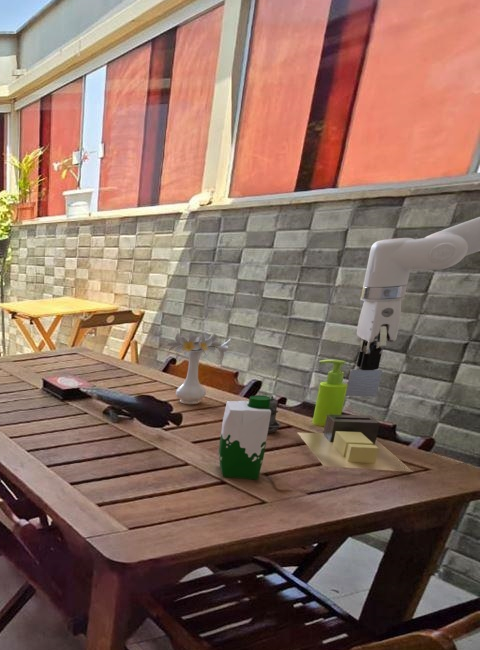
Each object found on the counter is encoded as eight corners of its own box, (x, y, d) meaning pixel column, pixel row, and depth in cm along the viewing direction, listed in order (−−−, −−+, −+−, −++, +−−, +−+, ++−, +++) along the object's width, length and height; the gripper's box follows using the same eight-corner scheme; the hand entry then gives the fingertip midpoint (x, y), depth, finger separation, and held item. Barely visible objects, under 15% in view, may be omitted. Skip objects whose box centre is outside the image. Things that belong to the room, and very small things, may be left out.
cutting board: (370, 439, 133) (371, 435, 133) (412, 476, 113) (413, 471, 113) (296, 436, 140) (297, 432, 140) (323, 470, 120) (324, 466, 120)
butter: (357, 446, 128) (360, 432, 126) (369, 458, 121) (373, 443, 120) (332, 445, 130) (335, 431, 129) (343, 456, 123) (346, 442, 122)
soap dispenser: (309, 422, 148) (322, 357, 142) (340, 426, 143) (354, 359, 137) (304, 427, 145) (317, 361, 138) (335, 432, 140) (350, 363, 133)
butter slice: (371, 460, 120) (375, 445, 119) (375, 463, 118) (378, 448, 117) (344, 458, 122) (348, 443, 121) (347, 461, 121) (351, 446, 119)
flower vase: (226, 407, 168) (236, 334, 160) (165, 407, 175) (171, 337, 167) (217, 396, 179) (225, 327, 171) (160, 396, 186) (165, 330, 178)
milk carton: (263, 481, 119) (276, 403, 112) (218, 478, 123) (228, 402, 116) (256, 467, 126) (269, 392, 119) (214, 464, 130) (224, 391, 123)
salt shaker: (252, 430, 147) (258, 392, 143) (277, 432, 144) (284, 393, 140) (254, 437, 143) (260, 398, 139) (280, 439, 140) (287, 399, 136)
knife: (374, 394, 126) (386, 344, 122) (377, 397, 124) (389, 346, 120) (344, 394, 129) (354, 345, 124) (346, 396, 127) (357, 347, 123)
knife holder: (365, 436, 133) (370, 415, 131) (374, 444, 128) (380, 422, 126) (323, 434, 137) (327, 414, 135) (330, 442, 132) (334, 421, 130)
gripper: (420, 295, 110) (401, 375, 116) (390, 288, 123) (374, 360, 129) (375, 298, 113) (358, 375, 119) (350, 291, 126) (337, 361, 132)
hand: (367, 367), depth 124 cm, fingers closed on knife, 2 cm apart
